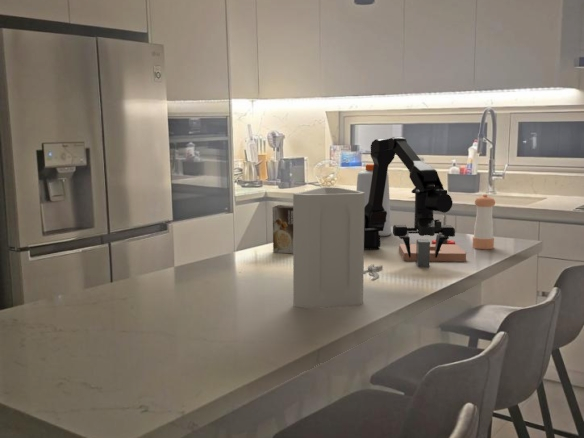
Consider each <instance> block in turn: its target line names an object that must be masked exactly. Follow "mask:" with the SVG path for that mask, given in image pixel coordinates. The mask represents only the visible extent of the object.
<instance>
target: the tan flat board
mask: <svg viewBox="0 0 584 438" xmlns="http://www.w3.org/2000/svg"><path fill="white" fill-rule="evenodd" d="M435 246H436V244H434V243H430V260H429V262H430V261H431V262H437V261H438V262H466V261H467V253H466V251H464V249H462V247H460V246H459V245H458V244H456V243H455V244H442V246H441V248H440V250H439V253H438V256H437V258H435ZM410 251H411V257H410V258H409V256H408V252H407V249H406V246H405V243H399V245H398V252H399V254H400V256H401V257H402V259H403V261H413V262H414V261H415V262H416V243H410Z"/></svg>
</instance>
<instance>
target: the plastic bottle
mask: <svg viewBox="0 0 584 438" xmlns="http://www.w3.org/2000/svg"><path fill="white" fill-rule="evenodd" d="M373 167H374V163H368V164H367V163H366V164H365V170H361V171H359V172H358V174H357V178H356V189H355V191H360V192H365V206H366V205H367V204H368V201H369V195H370V188H371V181H372V174H373ZM389 181H390V180H389V173H388V171H387V177H386V184H385V190H384V197H383V204H382V206H383V208H384V210H385V211H387V215H386V222H385V225H384V229H383V231H379V234H380V237H387V236H388V237H389V236H390V235H391V234H392V222H391V203H390V200H391V199H390V183H389ZM365 206H364V207H365Z"/></svg>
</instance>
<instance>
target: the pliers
mask: <svg viewBox="0 0 584 438" xmlns="http://www.w3.org/2000/svg"><path fill="white" fill-rule="evenodd" d="M382 270H383V265H376V266H375V264H374V263H372V264H370V265H368V266H367V269H364V274H363V275H366V274H367V273H368V275H369V276H371V277H372V278H371V280H370V281H376V280H377V279H379V278H380V274H379V273H378V272H379V271H382Z"/></svg>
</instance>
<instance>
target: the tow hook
mask: <svg viewBox="0 0 584 438" xmlns="http://www.w3.org/2000/svg"><path fill="white" fill-rule="evenodd" d="M442 218H443V221H442V225H448V224H447V223H448V222H447V220H448V219H447V218H448V216H447V212H446V213H443V217H442ZM431 244H436V239H432V240H431ZM443 244H456V241H454V240H450V239H446V240H445V241H444V242H443Z"/></svg>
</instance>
